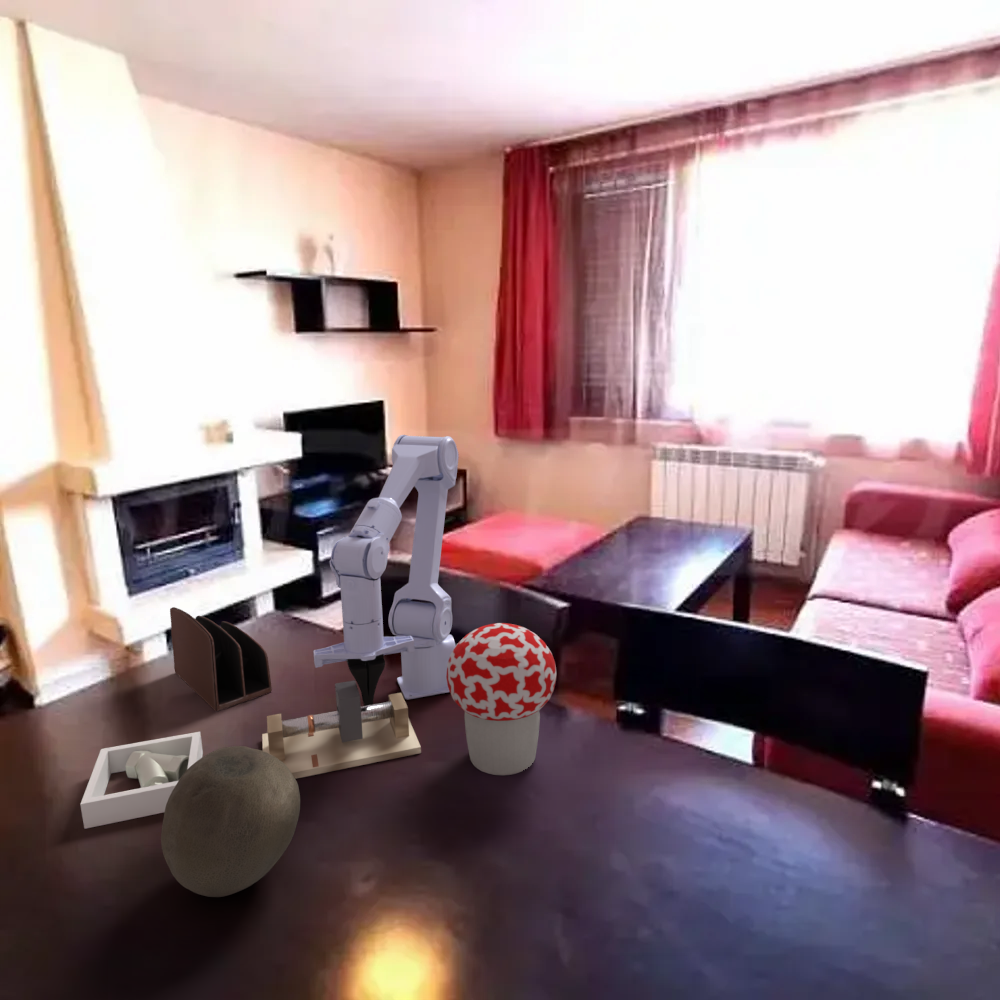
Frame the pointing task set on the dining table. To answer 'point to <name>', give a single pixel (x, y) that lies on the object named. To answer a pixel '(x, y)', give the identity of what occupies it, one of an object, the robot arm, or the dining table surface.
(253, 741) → the dining table surface
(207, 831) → the kiwi fruit
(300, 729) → the pipe
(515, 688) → the decorative object
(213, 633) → the letter holder
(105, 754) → the parts frame
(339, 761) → the pipe stand
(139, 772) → the pipe fitting
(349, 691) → the collar
